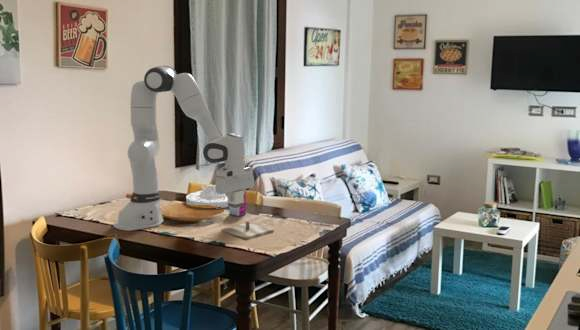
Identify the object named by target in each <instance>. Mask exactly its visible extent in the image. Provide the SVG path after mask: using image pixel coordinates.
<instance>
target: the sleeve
mask: <svg viewBox="0 0 580 330" xmlns="http://www.w3.org/2000/svg"><path fill="white" fill-rule="evenodd" d="M230 196H231V197H232V198H233V201H232V202H228V206H230V207H234V208H237V207H241V206H244V191H243V190H238V191H234V192H231V194H230Z"/></svg>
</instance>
